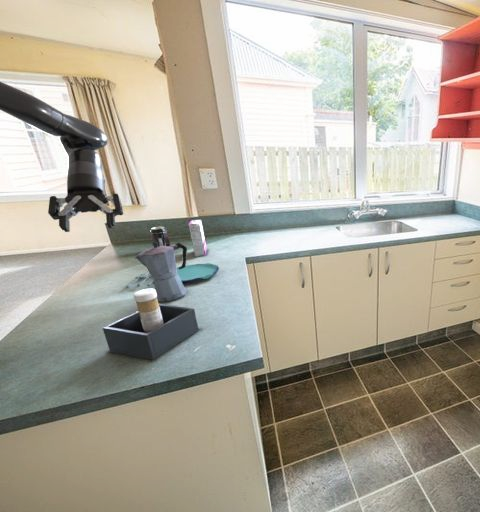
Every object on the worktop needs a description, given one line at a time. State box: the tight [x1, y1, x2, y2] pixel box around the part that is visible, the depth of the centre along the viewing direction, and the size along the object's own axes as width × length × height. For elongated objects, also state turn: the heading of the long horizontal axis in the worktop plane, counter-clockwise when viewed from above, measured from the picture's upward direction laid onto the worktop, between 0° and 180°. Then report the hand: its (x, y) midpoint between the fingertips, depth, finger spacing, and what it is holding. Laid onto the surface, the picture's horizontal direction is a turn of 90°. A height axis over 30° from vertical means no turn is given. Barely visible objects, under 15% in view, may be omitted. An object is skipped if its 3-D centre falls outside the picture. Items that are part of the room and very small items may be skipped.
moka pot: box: [134, 242, 188, 303], centre depth 102 cm, size 10×15×20 cm, turn 155°
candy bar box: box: [187, 219, 208, 257], centre depth 149 cm, size 11×5×16 cm, turn 26°
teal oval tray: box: [125, 262, 220, 289], centre depth 120 cm, size 20×30×2 cm, turn 109°
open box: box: [102, 303, 199, 360], centre depth 78 cm, size 14×14×7 cm
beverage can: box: [150, 226, 171, 247], centre depth 155 cm, size 7×7×12 cm
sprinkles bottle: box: [132, 288, 164, 333], centre depth 77 cm, size 5×5×14 cm
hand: (88, 228), depth 78 cm, fingers open, 8 cm apart
